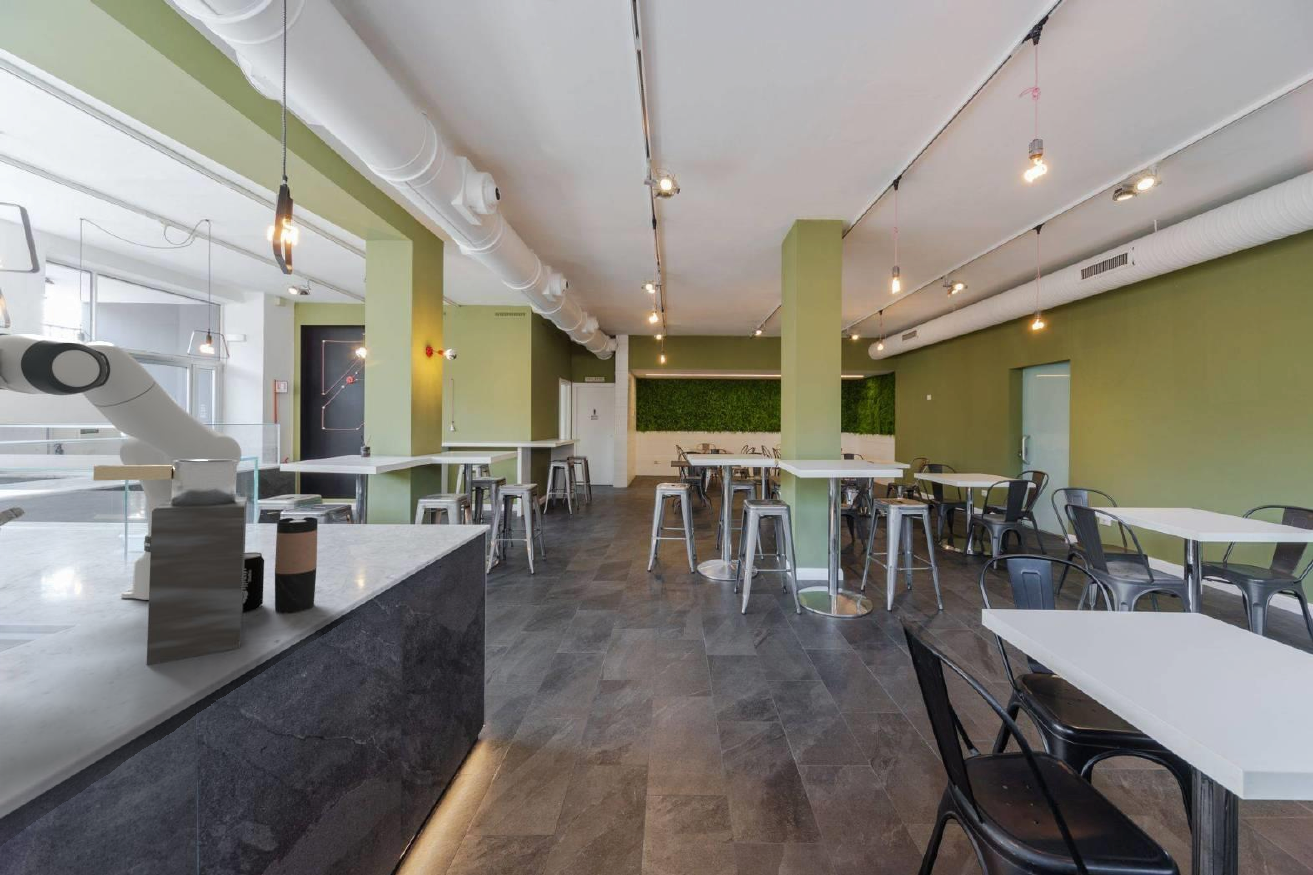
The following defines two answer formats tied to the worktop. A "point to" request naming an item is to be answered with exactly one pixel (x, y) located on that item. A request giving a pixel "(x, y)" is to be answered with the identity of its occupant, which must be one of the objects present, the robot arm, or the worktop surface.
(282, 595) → the travel mug
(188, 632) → the stand
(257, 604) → the beverage can
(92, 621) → the worktop surface
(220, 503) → the milk pan
